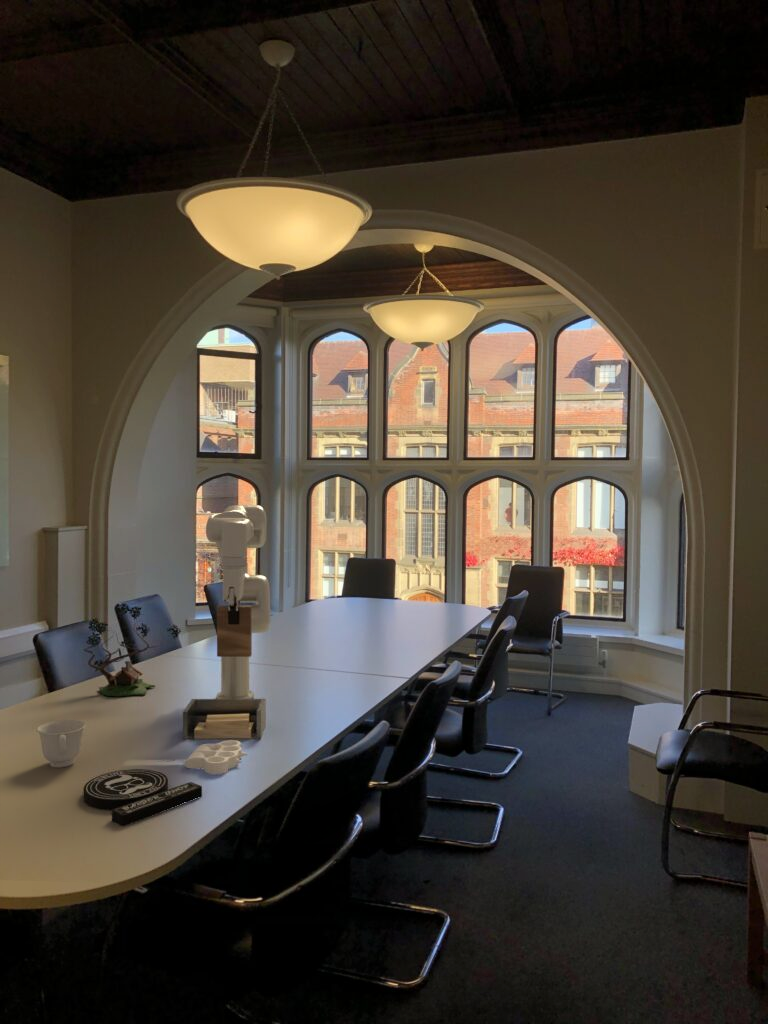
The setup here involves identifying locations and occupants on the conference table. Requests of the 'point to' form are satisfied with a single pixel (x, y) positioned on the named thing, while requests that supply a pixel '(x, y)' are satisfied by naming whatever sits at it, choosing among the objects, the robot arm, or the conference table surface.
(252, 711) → the rack
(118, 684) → the bonsai tree
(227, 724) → the offcut upper
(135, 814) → the decorative sign
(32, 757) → the conference table surface
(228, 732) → the offcut lower
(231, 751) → the white brass knuckles
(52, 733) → the teacup
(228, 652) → the wooden plank
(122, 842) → the conference table surface
